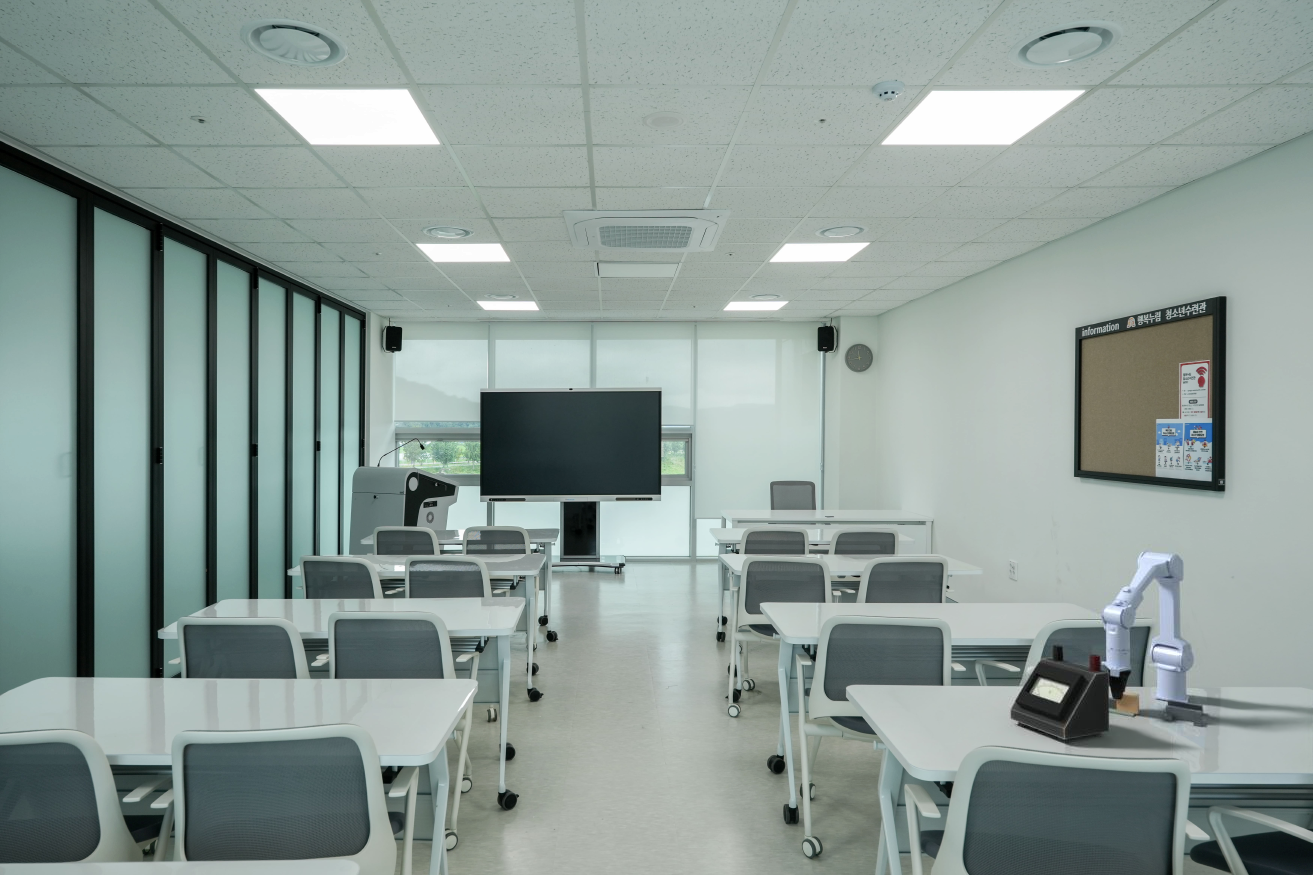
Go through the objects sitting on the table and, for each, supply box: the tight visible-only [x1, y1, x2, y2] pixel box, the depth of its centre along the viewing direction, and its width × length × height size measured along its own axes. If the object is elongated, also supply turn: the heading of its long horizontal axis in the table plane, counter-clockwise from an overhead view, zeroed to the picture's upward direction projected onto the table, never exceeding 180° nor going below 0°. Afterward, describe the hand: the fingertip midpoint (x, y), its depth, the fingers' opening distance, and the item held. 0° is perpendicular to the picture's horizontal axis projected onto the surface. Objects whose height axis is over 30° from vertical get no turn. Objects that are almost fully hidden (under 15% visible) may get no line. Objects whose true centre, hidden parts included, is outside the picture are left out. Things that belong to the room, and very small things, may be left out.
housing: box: [1164, 699, 1204, 728], centre depth 209 cm, size 15×8×3 cm, turn 142°
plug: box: [1109, 691, 1140, 715], centre depth 214 cm, size 4×13×4 cm, turn 52°
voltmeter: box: [1009, 644, 1110, 743], centre depth 196 cm, size 16×16×20 cm
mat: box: [1109, 708, 1136, 718], centre depth 213 cm, size 8×8×1 cm
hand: (1118, 697), depth 213 cm, fingers closed on plug, 4 cm apart
